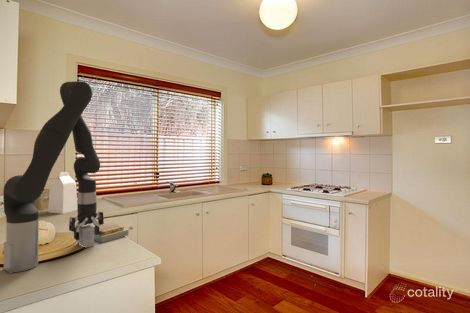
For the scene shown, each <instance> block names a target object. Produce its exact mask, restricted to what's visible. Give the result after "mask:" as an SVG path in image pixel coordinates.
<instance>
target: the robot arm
mask: <svg viewBox="0 0 470 313" xmlns="http://www.w3.org/2000/svg"><path fill="white" fill-rule="evenodd" d="M59 88H60V89H59V95H60V99H61V102H62V104H63V106H62V108H60V110H59V111H58V112H57V113H55V114H54V115H53V116H51V118H50V119H48V120H47V121H46V122H45V123H44V125H43V126H42V128H41V129H40V131H39V133H38V135H37V137H36V139H35V141H34V145H33V152H32V157H31V161H30V163H29V164H28V167H27V168H26V170H25V172H24V173H23V174H21V175H14V176H12V177H10V178H9V179H8V180H6V182H5V184H4V186H3V196H2V197H3V212H4V215H5V218H6V219H5V223H6V227H5V228H6V230H5V233H6V234H5V235H6V236H5V242H3V269H4V270H5V271H6V272H7V273H9V274H13V273H17V272H18V273H19V272H20V273H21V272H24V271H27V270H31V269H33V268H36V267H37V266H38V265H39V236H40V235H39V232H40V231H39V230H40V228H39V225H40V220H39V219H40V218H39V217H40V214H39V212H40V211H39V210H38V208H37V207H36V205H35V201H36V200H38V199H39V198H40V197H41V196H42V194H43V192H44V190H45V187H46V185H47V182H48V179H49V177H50V174H51V173H52V170H53V167H54V166H55V164H56V162H57V161H58V158H59V156H60V155H61V152H62V150H63V149H64V147H65V146H66V144H67V142H68V140H69V138H70V135H71V133H72V138H73V143H74V148H75V152H76V153H78V154H81V155H82V156H81V157H78V158H76V160H75V161H74V163H73V171H74V174H75V177H76V181H77V210H76V211H77V216H74V217H73V216H70V217H69V221H68V222H69V224H68V231H70V232H72V233H73V239H74V240H76V241H77V240H79V230H80V229H81V228H82V227H83V225H87V224H89V225H91V224H93V225H94V226H93V227H94V234H95V235H98V233H99V226H100V225H104V224H105V222H104V220H105V219H104V212H103V211H97V205H98V204H97V203H98V202H97V201H98V200H97V181H96V179H95V178H93V177H90V176H89V174H96V173H98V172H99V170H100V168H101V161H100V158H99V156H98V153H97V152H96V150H95V147H94V142H93V141H94V140H93V136H92V132H91V129H90V128H89V125H88V123H87V122H86V120H85V119H84V116H83V112H84V111H85V109H86V108H87V107H88V105H89V103H91V101H92V98H93V94H94V93H93V88H92V87H91V85H90V84H89V83H87V82H85V81H76V80H75V81H74V80H73V81H66V82H63V83H62V84H61V86H60V87H59ZM96 218H97V220H96ZM76 222H77V223H76Z"/></svg>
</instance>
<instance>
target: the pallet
mask: <svg viewBox="0 0 470 313" xmlns="http://www.w3.org/2000/svg"><path fill="white" fill-rule="evenodd" d="M124 229H125V226H122V225H119V224H116V223H112V222H108V223H104V224H103V225H100V226H99V233H101V235H102V236H104V235H107V234H111V233H115V232H119V231H122V230H124ZM99 233H98V234H99Z"/></svg>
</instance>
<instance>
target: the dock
mask: <svg viewBox="0 0 470 313" xmlns="http://www.w3.org/2000/svg"><path fill="white" fill-rule="evenodd" d="M129 231H130V230H129V229H126V228H124V230H122V231H119V232H115V233H111V234H107V235H104V236H102V235H101V233H99V234H98V235H95V234H94V241H97V242H100V243H105V242H110V241H113V240H116V239H120V238H123V237H126V236H129Z"/></svg>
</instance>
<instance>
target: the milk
mask: <svg viewBox="0 0 470 313" xmlns="http://www.w3.org/2000/svg"><path fill="white" fill-rule="evenodd" d="M48 195H49V196H48V208H47V210H48V211H47V212H48V213H53V214H60V215H61V214H62V215H63V214H66V213H70V212H74V211H77V198H78V188H77V183H76V181H75V180H74V179H73V178H72V177H71V176H70V174H69V171H62V172H59V173H58V175H57V177H55V178H54V180H52V181H51V182H50V185H49V194H48Z"/></svg>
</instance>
